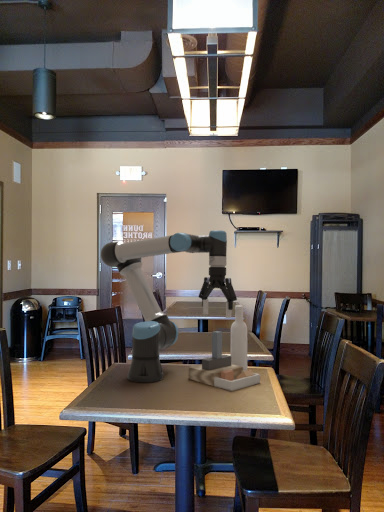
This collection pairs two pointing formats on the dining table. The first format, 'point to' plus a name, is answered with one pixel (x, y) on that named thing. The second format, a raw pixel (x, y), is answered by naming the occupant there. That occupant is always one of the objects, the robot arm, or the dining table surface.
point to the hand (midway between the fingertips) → (216, 316)
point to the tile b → (245, 374)
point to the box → (237, 382)
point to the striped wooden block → (211, 373)
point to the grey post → (216, 354)
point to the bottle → (239, 339)
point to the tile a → (227, 375)
